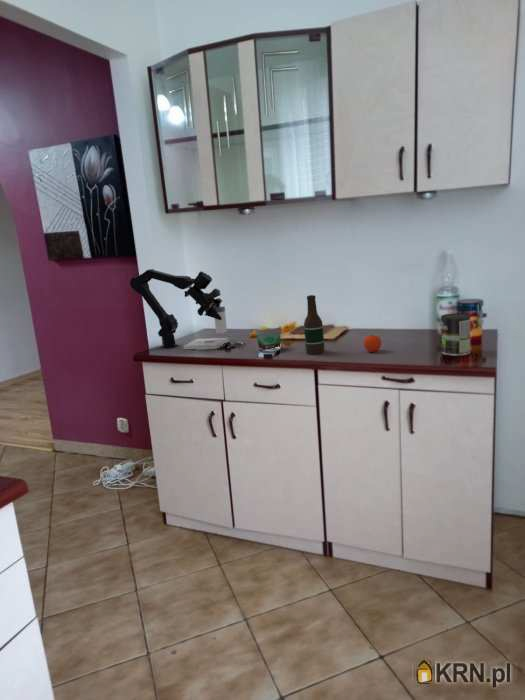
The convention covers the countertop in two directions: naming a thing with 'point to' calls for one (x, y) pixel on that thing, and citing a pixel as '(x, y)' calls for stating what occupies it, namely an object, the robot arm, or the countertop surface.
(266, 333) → the food container
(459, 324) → the coffee can
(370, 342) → the clementine
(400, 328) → the countertop surface
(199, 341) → the socket
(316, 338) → the beer bottle
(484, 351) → the countertop surface
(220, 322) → the plug
